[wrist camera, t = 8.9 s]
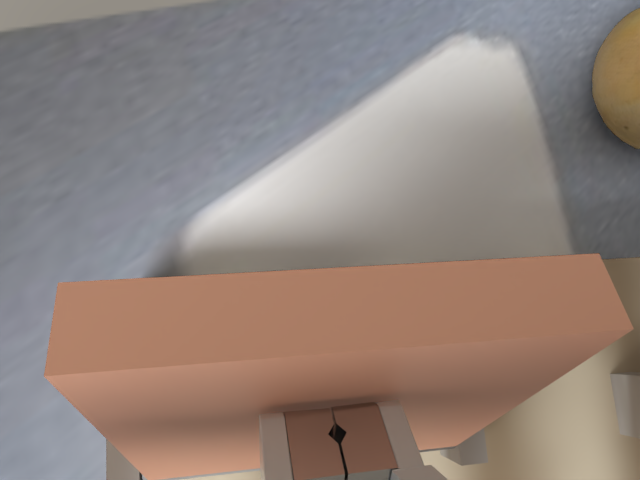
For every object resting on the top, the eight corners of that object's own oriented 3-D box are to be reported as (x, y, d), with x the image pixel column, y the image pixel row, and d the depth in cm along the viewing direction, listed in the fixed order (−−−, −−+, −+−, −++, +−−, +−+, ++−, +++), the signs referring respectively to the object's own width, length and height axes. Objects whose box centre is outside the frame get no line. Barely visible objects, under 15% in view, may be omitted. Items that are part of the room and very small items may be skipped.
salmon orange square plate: (438, 410, 20) (612, 252, 11) (448, 455, 20) (648, 327, 10) (149, 440, 19) (38, 283, 9) (147, 489, 18) (22, 378, 8)
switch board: (725, 259, 28) (828, 240, 23) (780, 509, 25) (907, 547, 21) (132, 294, 23) (103, 280, 18) (134, 603, 21) (103, 681, 16)
